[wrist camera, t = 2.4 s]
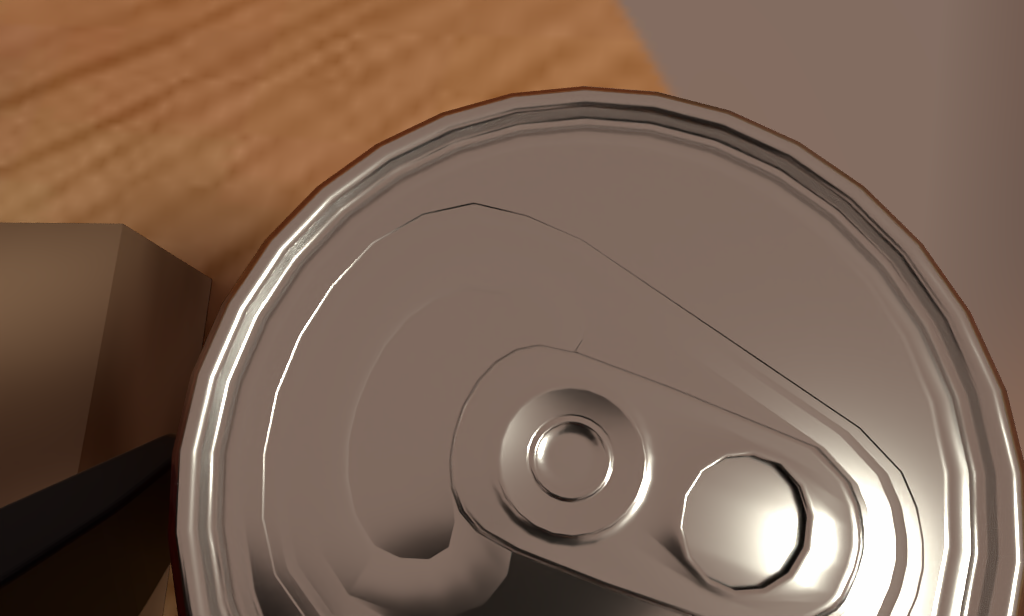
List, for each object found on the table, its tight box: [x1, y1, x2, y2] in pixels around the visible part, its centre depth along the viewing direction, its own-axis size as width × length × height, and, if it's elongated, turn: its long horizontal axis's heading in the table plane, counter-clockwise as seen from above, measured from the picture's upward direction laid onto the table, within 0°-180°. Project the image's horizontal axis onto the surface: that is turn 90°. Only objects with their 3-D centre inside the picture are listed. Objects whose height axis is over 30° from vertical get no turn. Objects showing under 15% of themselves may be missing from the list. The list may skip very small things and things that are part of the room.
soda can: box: [168, 86, 1024, 616], centre depth 11 cm, size 7×7×12 cm
